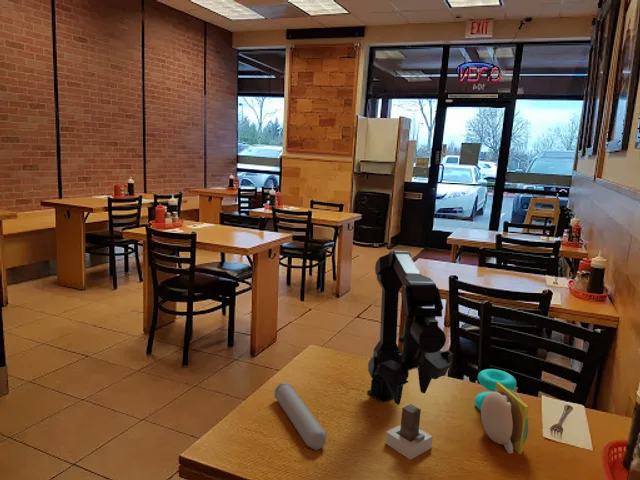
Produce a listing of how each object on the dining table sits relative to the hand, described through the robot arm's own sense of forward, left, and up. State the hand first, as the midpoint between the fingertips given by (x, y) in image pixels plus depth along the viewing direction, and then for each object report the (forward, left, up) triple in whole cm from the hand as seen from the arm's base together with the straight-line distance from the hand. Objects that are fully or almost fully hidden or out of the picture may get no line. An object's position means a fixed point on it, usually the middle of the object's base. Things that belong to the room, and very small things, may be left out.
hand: (410, 398), depth 111 cm
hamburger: (-21, +12, -12) cm, 27 cm away
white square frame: (0, +1, -12) cm, 12 cm away
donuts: (-33, +3, -12) cm, 35 cm away
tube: (+15, -22, -12) cm, 29 cm away
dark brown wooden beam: (0, +1, -11) cm, 11 cm away
